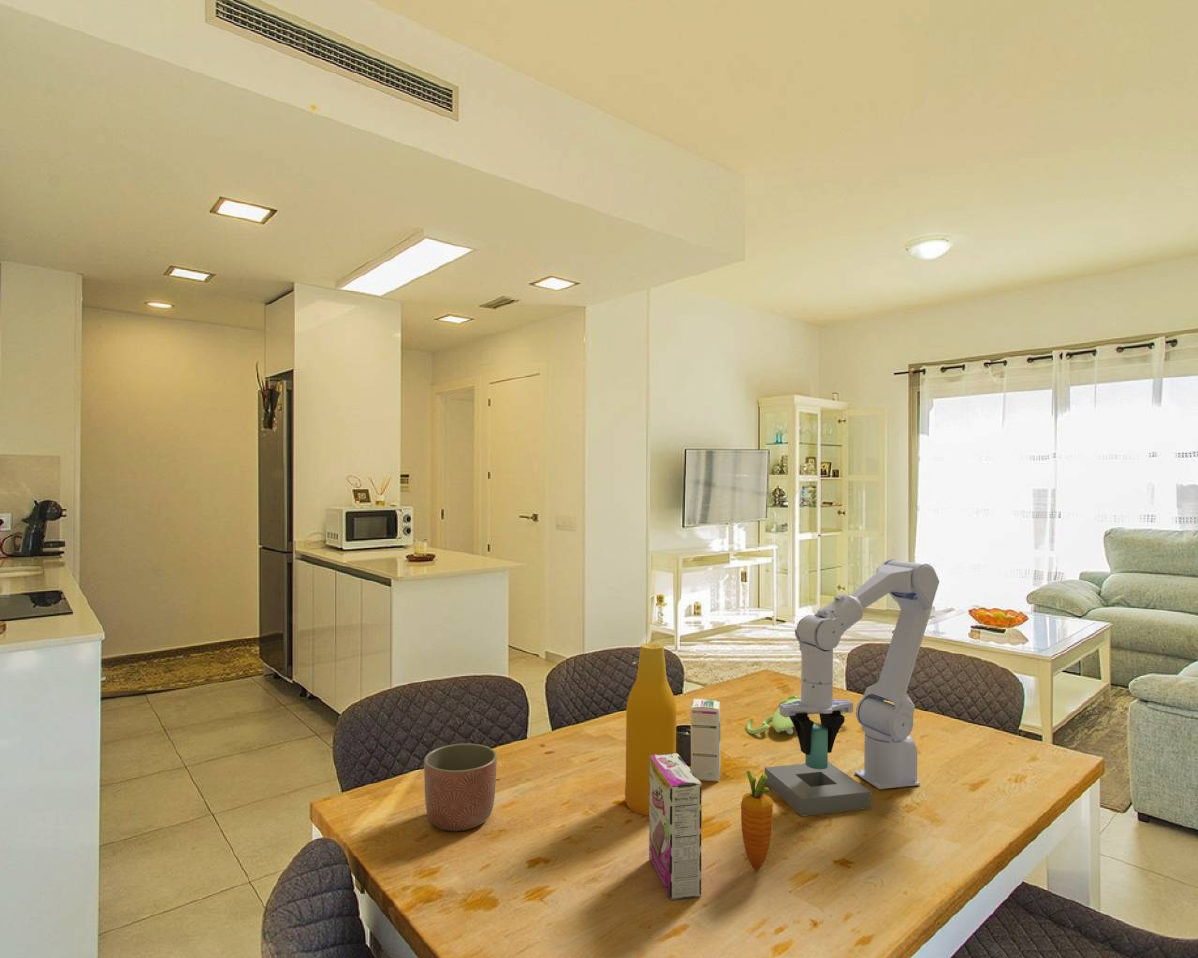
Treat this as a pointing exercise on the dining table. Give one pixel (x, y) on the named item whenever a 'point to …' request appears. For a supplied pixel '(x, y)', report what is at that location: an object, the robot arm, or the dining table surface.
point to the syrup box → (705, 739)
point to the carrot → (756, 821)
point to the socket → (817, 789)
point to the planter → (460, 785)
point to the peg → (818, 748)
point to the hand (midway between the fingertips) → (816, 751)
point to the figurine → (776, 720)
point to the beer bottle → (648, 724)
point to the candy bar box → (675, 825)
